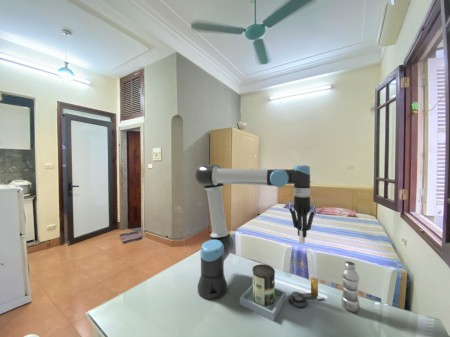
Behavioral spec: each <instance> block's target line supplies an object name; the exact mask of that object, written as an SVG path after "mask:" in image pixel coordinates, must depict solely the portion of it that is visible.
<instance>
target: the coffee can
mask: <svg viewBox="0 0 450 337" xmlns="http://www.w3.org/2000/svg"><path fill="white" fill-rule="evenodd" d="M251 270H252V271H251V272H252V284H253V301H254V303H256V304H258V305H260V306H263V307H265V308H269V307H272V306H273V305H274V304H275V288H276V287H275V285H276V284H275V279H276V278H275V276H276V275H275V273H276V270H275V269H274V268H273V267H272V266H271V265H267V264H263V263H260V264H256V265H254V266H253V267H252V269H251Z"/></svg>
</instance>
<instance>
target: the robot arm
mask: <svg viewBox="0 0 450 337" xmlns="http://www.w3.org/2000/svg"><path fill="white" fill-rule="evenodd" d="M310 168H311V167H310V165H306V164H305V165H294V166H293V168H292V169H282V168H281V169H277V168H276V169H275V168H274V169H265V168H264V169H263V168H261V169H255V168H223V167H221V166H220V165H217V164H207V163H206V164H202V165H199V166H198V167H197V168H196V169H195V173H194V177H195V180H196V182H197V183H198V184H200V185H201V186H203V189H204V190H205V191H206V194H207V200H208V209H209V216H210V224H211V233H210V235H209V236H210V239H209V240H206V241H205V242H203V243H202V245H201V247H200V276H199V279H198V284H197V293H198V295H199V296H200V297H201V298H203V299H206V300H216V299H220V298H222V297H223V296H225V295H226V293H227V292H228V283H227V280H226V277H225V272H224V270H225V269H224V268H225V267H224V263H225V261H226V259H227V257H229V255H230V254H231V253H232V252H233V250H234V249H233V248H234V245H235V244H234V243H235V242H234V239H233V237H232V236H231V233H230V231H229V230H228V229H227V221H226V213H225V205H224V200H223V199H224V196H223V190H222V189H223V188H224V184H226V185H247V186H250V185H251V186H269V187H277V188H282V187H285V186H286V185H292V184H293V195H294V197H293V206H292V207H290V208H289V209H288V210H289V212H290V214H291V219H292V224H293V227H294V228H295V229H297V237H299V244H301V245H303V244H306V237H307V233H308V231H310V230H311V228H312V224H313V221H314V217H315V215H316V214H317V212H316V211H314V210H312V207H311V197H310V196H311V169H310ZM308 214H309V216H308Z"/></svg>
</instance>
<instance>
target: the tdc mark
mask: <svg viewBox="0 0 450 337" xmlns="http://www.w3.org/2000/svg"><path fill="white" fill-rule="evenodd" d="M316 301H326V299H325V298H324V297H322V298H321V297H320V298H317V300H316Z"/></svg>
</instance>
